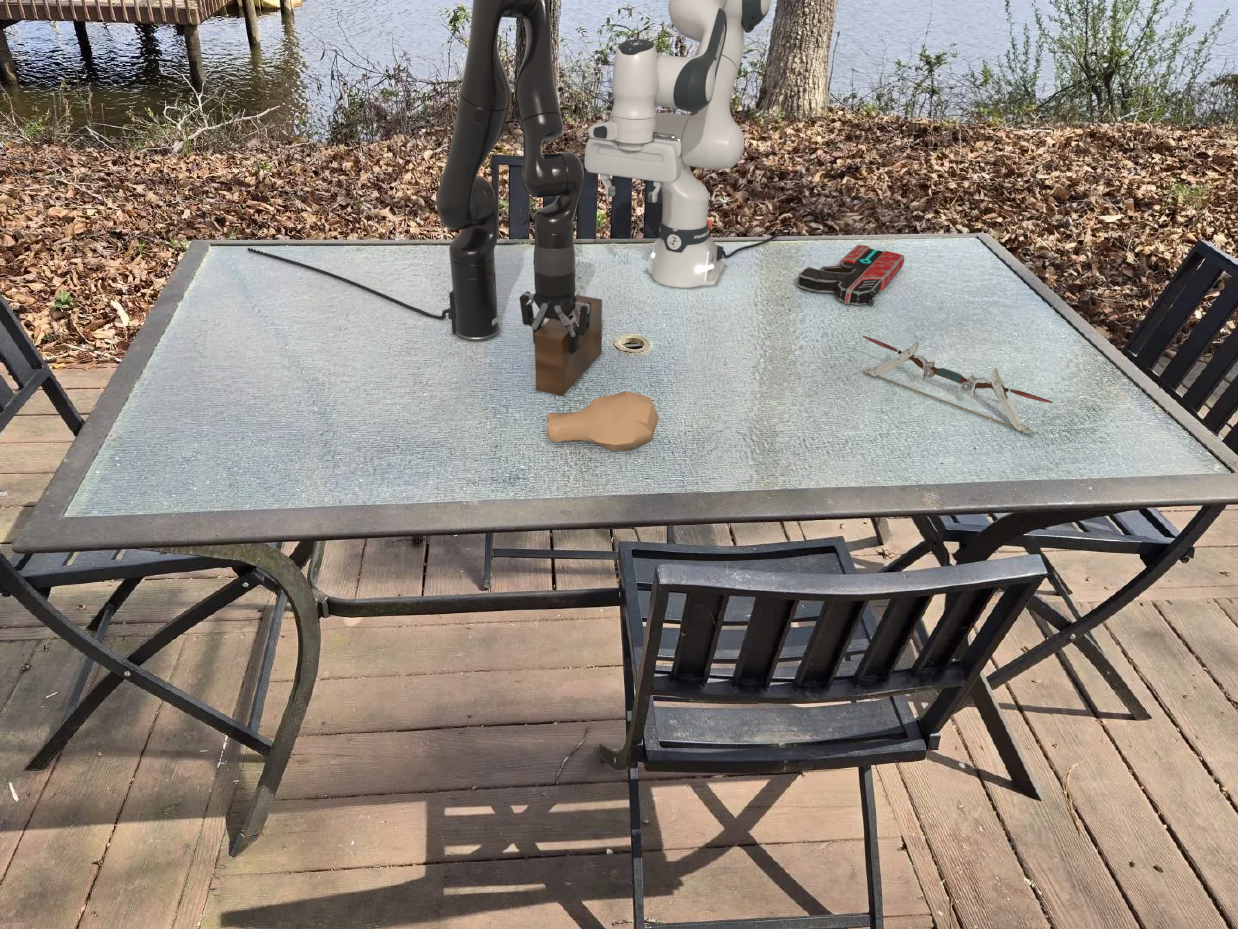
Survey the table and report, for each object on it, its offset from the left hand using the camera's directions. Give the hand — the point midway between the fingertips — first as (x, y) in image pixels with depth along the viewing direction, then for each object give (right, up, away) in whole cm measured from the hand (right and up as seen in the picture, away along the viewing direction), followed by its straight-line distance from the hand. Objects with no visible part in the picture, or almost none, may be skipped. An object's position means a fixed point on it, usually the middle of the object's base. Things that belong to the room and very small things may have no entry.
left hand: (556, 348), depth 169 cm
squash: (+9, -18, -12) cm, 24 cm away
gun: (+71, +24, +54) cm, 93 cm away
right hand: (+15, +34, +15) cm, 40 cm away
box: (+2, -3, +10) cm, 10 cm away
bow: (+76, -10, +3) cm, 76 cm away
